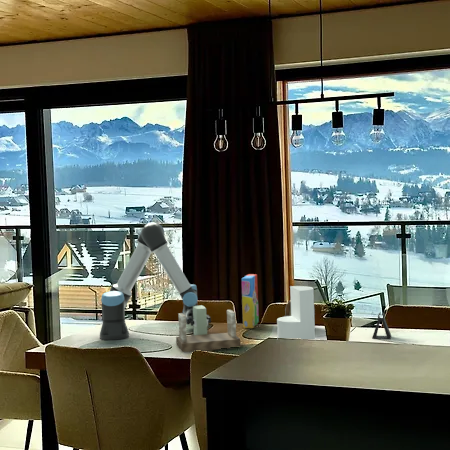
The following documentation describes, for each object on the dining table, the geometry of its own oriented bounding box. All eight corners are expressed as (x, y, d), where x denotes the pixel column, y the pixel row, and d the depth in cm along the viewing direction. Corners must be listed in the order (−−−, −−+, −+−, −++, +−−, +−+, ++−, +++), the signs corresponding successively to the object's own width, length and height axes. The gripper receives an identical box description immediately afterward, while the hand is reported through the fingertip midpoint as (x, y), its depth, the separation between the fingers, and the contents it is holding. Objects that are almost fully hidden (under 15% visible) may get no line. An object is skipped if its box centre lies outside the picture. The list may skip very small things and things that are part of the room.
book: (197, 340, 376) (196, 309, 375) (193, 336, 387) (192, 305, 386) (207, 340, 377) (206, 308, 376) (203, 335, 388) (202, 305, 387)
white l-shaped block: (309, 343, 360) (307, 285, 358) (319, 350, 342) (317, 289, 341) (274, 345, 357) (272, 287, 356) (282, 353, 340) (280, 291, 339)
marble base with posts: (182, 352, 351) (180, 318, 350) (176, 344, 368) (175, 312, 367) (240, 347, 356) (239, 313, 356) (232, 340, 374) (231, 308, 373)
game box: (252, 328, 403) (251, 278, 402) (242, 328, 404) (241, 278, 403) (258, 321, 424) (257, 273, 422) (249, 321, 425) (247, 273, 424)
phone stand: (372, 338, 365) (371, 314, 365) (372, 336, 371) (372, 312, 371) (390, 339, 363) (390, 314, 362) (391, 336, 369) (390, 312, 368)
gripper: (210, 322, 401) (219, 329, 378) (177, 324, 397) (184, 332, 374) (210, 308, 401) (219, 314, 378) (176, 310, 397) (183, 317, 374)
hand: (201, 323), depth 376 cm, fingers closed on book, 5 cm apart
